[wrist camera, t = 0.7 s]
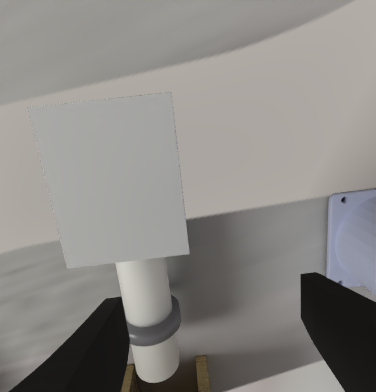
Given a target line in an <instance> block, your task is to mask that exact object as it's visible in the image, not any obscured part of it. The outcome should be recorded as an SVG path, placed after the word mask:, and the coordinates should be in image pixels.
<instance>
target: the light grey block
mask: <svg viewBox="0 0 376 392" xmlns="http://www.w3.org/2000/svg"><path fill="white" fill-rule="evenodd" d="M28 112H29V116H30V120H31V124H32V128H33V132H34V136H35V140H36V144H37V148H38V153H39V157H40V161H41V164H42V169H43V173H44V177H45V181H46V185H47V189H48V193H49V197H50V201H51V205H52V209H53V213H54V217H55V221H56V225H57V229H58V234H59V238H60V242H61V246H62V250H63V254H64V258H65V262H66V266H67V269H68V268H76V267H85V266H93V265H102V264H110V263H119V262H127V261H136V260H144V259H152V258H161V257H169V256H178V255H186V254H190V253H189V244H188V236H187V227H186V218H185V209H184V200H183V192H182V183H181V175H180V165H179V156H178V147H177V139H176V130H175V121H174V113H173V104H172V95H171V92H168V93H159V94H149V95H139V96H130V97H121V98H111V99H102V100H92V101H83V102H73V103H64V104H55V105H45V106H35V107H28Z"/></svg>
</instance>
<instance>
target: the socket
mask: <svg viewBox="0 0 376 392" xmlns="http://www.w3.org/2000/svg"><path fill="white" fill-rule="evenodd" d="M195 358H196V369H197V380H198V391H199V392H210V384H209V377H208V369H207V362H206V355H204V356H196V357H195ZM121 392H139V389H138V384H137V379H136V373H135V368H134V364H133V365H127V368H126V372H125V376H124V381H123V385H122V389H121Z"/></svg>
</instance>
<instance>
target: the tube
mask: <svg viewBox="0 0 376 392" xmlns="http://www.w3.org/2000/svg"><path fill="white" fill-rule="evenodd" d="M115 264H116V269H117V274H118V279H119V284H120V289H121V295H122V300H123V305H124V306H123V307H124V312H125V317H126V322H127V327H128V332H129V337H130V344H131V346H132V351H133V356H134V362H135V367H136V372H137V374H138V376H139V377H140V378H141V379H142V380H144V381H146V382H149V383H157V382H161V381H164V380H166V379H168V378H169V377H171V376H172V375H173V374H174V373H175V372H176V370H177V368H178V366H179V362H180V359H179V351H178V344H177V337H176V331H177V330H178V328H179V326H180V323H181V314H180V306H179V302H178V300H177V299H176V298H175V297H174V296H173V295H171V294H170V287H169V279H168V272H167V265H166V258H165V257H161V258H152V259H144V260H136V261H127V262H119V263H115Z"/></svg>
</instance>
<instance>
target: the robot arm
mask: <svg viewBox="0 0 376 392" xmlns="http://www.w3.org/2000/svg"><path fill="white" fill-rule="evenodd" d="M343 197H345V200H344V201H343V202H341V199H342V198H343ZM339 281H341V282H340V283H338V282H339ZM357 286H364V287H365V288H366V289H367V290H368V291H370V292H371V293H372V294H373V295H374V296H375V297H376V189H367V190H359V191H350V192H341V193H334V194H332V195H331V196H330V198H329V207H328V238H327V269H326V277H325V276H323V275H321V274H319V273H316V272H314V273H307V274H301V319H302V321H303V323H304V325H305V327H306V329H307V331H308V333H309V335H310V337H311V339H312V341H313V343H314V345H315V346H316V348H317V349H318V351H319V352H320V354H321V355H322V357H323V359H324V360H325V362H326V363H327V365H328V366H329V368H330V369H331V371H332V372H333V374H334V375H335V377H336V378H337V380H338V381H339V383H340V384H341V386H342V387H343V389H344V390H345V392H376V302H374V301H372V300H370V299H368V298H366V297H364V296H362V295H360V294H358V293H356V292H354V291H352V290H350V289H348V288H349V287H357ZM129 344H130V337H129V332H128V327H127V322H126V317H125V312H124V307H123V303H122V298H121V297H116V298H108V299H105V300H104V301H103V302H102V303H101V304H100V306H99V307H98V308H97V309H96V310H95V311H94V312H93V313H92V314H91V315H90V316H89V318H88V319H87V320H86V321H85V322H84V323H83V324H82V325H81V326H80V327H79V328H78V329H77V330H76V331H75V332H74V333H73V335H72V336H71V337H70V338H69V339H67V340H66V341H65V342H64V343H63V344H62V345H61V346H60V347H59V348H58V349H57V350H56V351H55V352H54V353H53V354H52V355H51V356H50V357H49V358H48V359H47V360H46V361H45V362H44V363H42V364H41V365H40V366H39V367H38V368H37V369H36V370H35V371H33V372H32V373H31V374H30V375H29V376H27V377H26V378H25V379H24V380H23V381H21V382H20V383H19V384H18V385H17V386H15V387H14V388H13V389H12V390H10V391H9V392H121V389H122V385H123V381H124V376H125V372H126V368H127V361H128V353H129Z"/></svg>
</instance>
